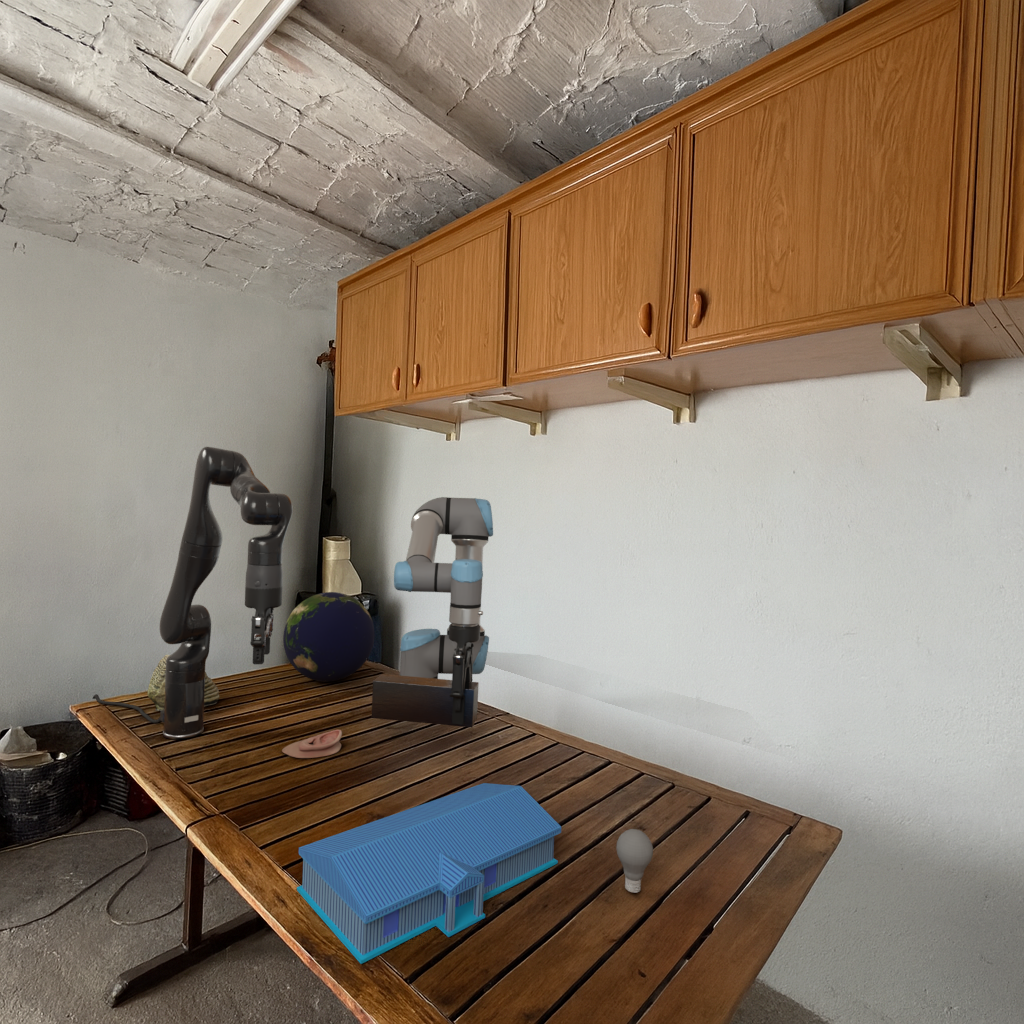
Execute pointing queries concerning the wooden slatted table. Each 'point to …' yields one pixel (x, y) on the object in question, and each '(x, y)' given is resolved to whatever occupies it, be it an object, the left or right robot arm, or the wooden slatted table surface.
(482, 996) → the wooden slatted table surface
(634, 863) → the light bulb
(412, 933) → the model building
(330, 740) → the anatomical model
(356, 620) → the globe
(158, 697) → the fossil
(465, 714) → the box
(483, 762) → the wooden slatted table surface
